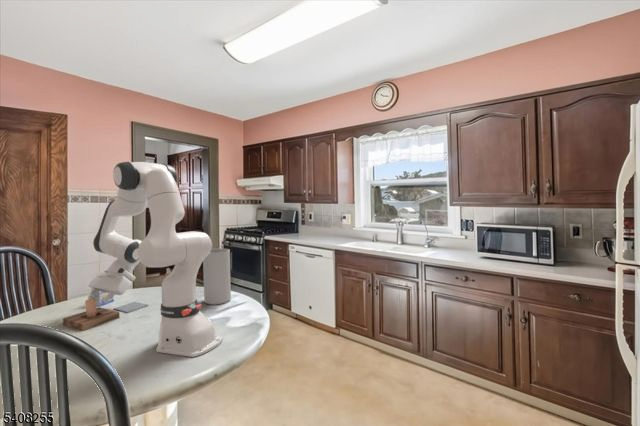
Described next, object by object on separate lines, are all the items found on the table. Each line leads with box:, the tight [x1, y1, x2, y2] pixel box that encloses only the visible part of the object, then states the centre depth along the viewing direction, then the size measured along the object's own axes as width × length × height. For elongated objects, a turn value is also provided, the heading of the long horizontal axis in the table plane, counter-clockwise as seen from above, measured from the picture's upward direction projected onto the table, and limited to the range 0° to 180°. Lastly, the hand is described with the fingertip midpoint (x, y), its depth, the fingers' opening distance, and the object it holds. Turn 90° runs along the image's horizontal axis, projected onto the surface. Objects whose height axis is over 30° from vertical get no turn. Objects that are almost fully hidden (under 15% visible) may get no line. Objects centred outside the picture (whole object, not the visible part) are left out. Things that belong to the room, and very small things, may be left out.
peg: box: [84, 298, 98, 319], centre depth 131 cm, size 4×4×9 cm
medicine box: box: [94, 291, 115, 307], centre depth 152 cm, size 8×4×9 cm, turn 168°
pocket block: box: [62, 306, 120, 332], centre depth 131 cm, size 14×14×2 cm
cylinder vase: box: [202, 248, 232, 306], centre depth 154 cm, size 12×12×25 cm
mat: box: [113, 301, 149, 314], centre depth 146 cm, size 10×10×1 cm
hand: (96, 300), depth 132 cm, fingers open, 8 cm apart
